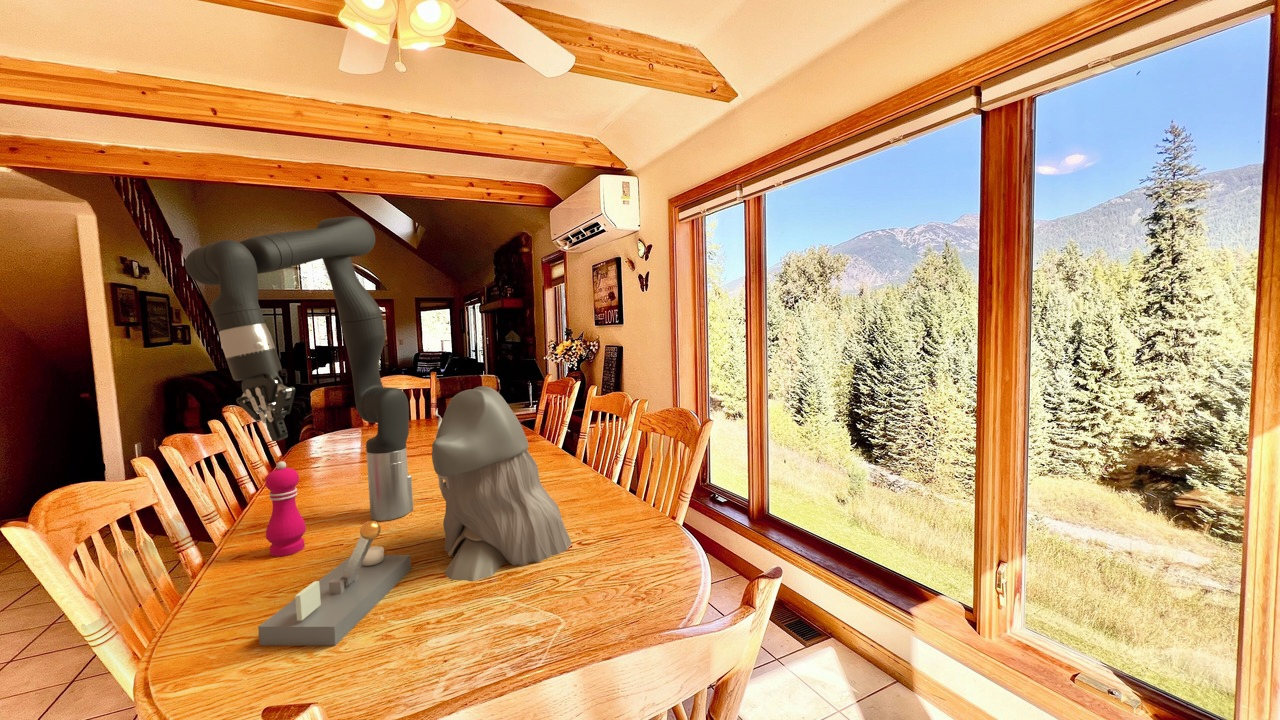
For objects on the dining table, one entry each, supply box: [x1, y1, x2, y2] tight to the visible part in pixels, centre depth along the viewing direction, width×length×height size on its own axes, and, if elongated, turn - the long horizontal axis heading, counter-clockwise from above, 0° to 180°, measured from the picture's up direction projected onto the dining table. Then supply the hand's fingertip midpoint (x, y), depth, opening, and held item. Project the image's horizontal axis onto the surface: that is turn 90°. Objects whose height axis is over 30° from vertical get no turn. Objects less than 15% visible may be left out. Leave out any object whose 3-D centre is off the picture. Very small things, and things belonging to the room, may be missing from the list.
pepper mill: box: [265, 461, 307, 558], centre depth 111 cm, size 7×7×20 cm
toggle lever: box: [340, 520, 382, 586], centre depth 89 cm, size 3×3×12 cm
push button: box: [362, 545, 385, 566], centre depth 99 cm, size 4×4×2 cm
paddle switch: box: [294, 580, 321, 621], centre depth 81 cm, size 1×4×4 cm, turn 178°
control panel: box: [257, 554, 412, 646], centre depth 90 cm, size 12×24×5 cm, turn 178°
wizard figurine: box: [431, 385, 573, 582], centre depth 113 cm, size 34×34×35 cm
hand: (280, 439), depth 97 cm, fingers closed
